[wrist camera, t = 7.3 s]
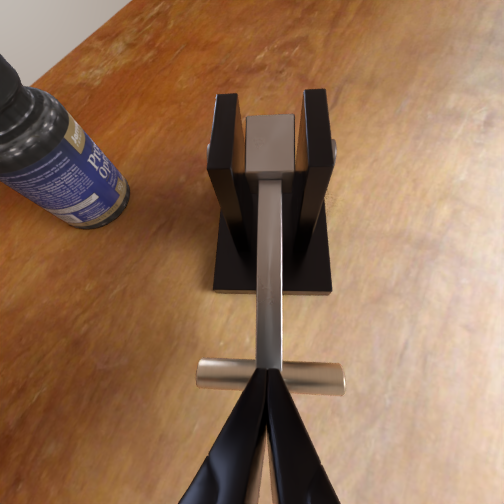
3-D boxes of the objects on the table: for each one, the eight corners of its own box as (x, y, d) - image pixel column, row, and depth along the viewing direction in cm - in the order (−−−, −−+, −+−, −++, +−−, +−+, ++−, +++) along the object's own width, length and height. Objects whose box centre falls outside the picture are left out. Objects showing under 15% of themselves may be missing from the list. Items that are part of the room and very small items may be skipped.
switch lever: (335, 384, 11) (352, 408, 9) (206, 377, 12) (189, 399, 9) (327, 143, 13) (338, 110, 11) (217, 147, 14) (204, 117, 11)
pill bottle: (145, 200, 22) (30, 65, 11) (84, 245, 20) (-104, 138, 10) (110, 163, 24) (-13, 20, 14) (54, 202, 22) (-129, 76, 12)
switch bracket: (329, 295, 17) (389, 231, 8) (216, 293, 18) (157, 232, 9) (319, 179, 21) (353, 46, 12) (226, 181, 22) (192, 58, 13)
